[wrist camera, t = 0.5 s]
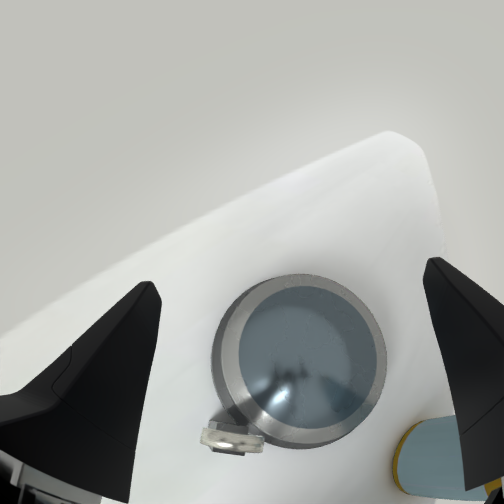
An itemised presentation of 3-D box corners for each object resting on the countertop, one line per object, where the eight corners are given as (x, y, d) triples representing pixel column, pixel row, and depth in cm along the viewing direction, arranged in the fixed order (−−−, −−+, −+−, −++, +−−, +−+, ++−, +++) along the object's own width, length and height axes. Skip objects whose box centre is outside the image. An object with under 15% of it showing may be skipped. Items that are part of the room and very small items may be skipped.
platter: (375, 441, 17) (383, 442, 16) (205, 431, 16) (207, 433, 15) (377, 295, 23) (385, 290, 22) (236, 264, 22) (239, 256, 21)
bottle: (426, 405, 20) (576, 353, 8) (453, 455, 18) (590, 427, 5) (375, 457, 17) (552, 445, 5) (406, 508, 15) (559, 514, 2)
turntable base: (369, 450, 18) (432, 452, 12) (194, 440, 16) (200, 454, 10) (374, 297, 25) (423, 258, 19) (228, 265, 23) (246, 208, 18)
